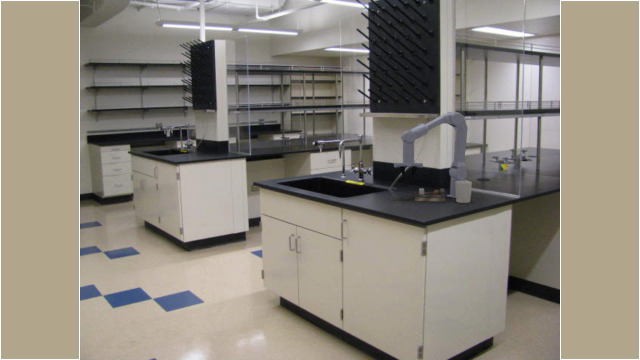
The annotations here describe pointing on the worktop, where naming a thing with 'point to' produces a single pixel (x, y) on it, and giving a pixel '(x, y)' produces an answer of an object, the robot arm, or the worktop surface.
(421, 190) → the grey rectangular block
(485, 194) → the worktop surface
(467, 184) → the white cup
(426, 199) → the wooden shadow box
